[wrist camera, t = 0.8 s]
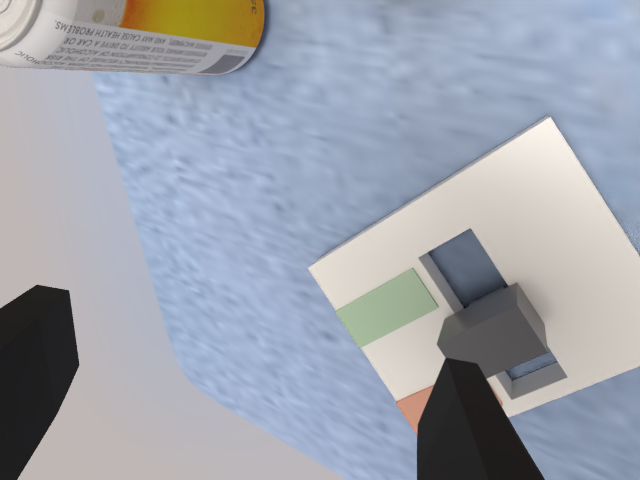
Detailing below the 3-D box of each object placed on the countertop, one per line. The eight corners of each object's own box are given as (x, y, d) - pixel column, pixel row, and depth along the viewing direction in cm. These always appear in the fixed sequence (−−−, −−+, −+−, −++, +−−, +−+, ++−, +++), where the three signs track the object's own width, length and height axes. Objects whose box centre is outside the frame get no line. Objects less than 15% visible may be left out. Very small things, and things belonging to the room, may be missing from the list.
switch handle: (542, 310, 27) (548, 352, 23) (473, 342, 29) (465, 387, 25) (517, 270, 27) (517, 305, 23) (448, 305, 29) (436, 344, 25)
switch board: (683, 326, 26) (697, 346, 24) (433, 428, 32) (427, 451, 30) (548, 114, 26) (550, 117, 24) (319, 257, 31) (306, 269, 29)
